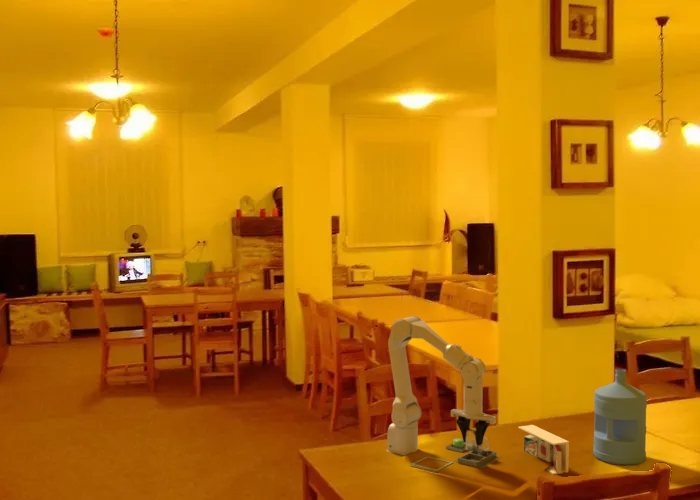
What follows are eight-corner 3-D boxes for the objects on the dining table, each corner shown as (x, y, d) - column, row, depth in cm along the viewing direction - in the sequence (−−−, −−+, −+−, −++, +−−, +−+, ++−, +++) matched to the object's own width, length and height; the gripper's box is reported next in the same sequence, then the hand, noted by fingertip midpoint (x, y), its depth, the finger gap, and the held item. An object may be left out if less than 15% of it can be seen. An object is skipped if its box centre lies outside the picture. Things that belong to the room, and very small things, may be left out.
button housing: (445, 452, 240) (446, 446, 240) (455, 447, 245) (455, 441, 245) (462, 456, 236) (462, 449, 236) (471, 451, 241) (471, 445, 241)
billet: (463, 449, 227) (463, 429, 226) (470, 445, 230) (470, 426, 229) (473, 452, 224) (473, 432, 224) (481, 448, 227) (481, 429, 227)
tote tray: (411, 468, 225) (411, 464, 225) (427, 460, 232) (427, 456, 232) (437, 475, 219) (437, 470, 219) (452, 466, 227) (452, 462, 227)
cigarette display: (517, 455, 237) (518, 426, 237) (532, 453, 239) (532, 424, 239) (555, 476, 219) (556, 444, 218) (571, 473, 221) (571, 442, 220)
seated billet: (473, 457, 232) (473, 438, 231) (479, 453, 235) (479, 435, 235) (484, 459, 229) (484, 440, 229) (490, 456, 232) (490, 437, 232)
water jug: (607, 446, 246) (608, 362, 244) (654, 457, 235) (655, 369, 233) (584, 457, 235) (585, 370, 233) (632, 469, 224) (633, 378, 222)
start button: (451, 449, 240) (451, 440, 240) (456, 446, 243) (456, 437, 243) (460, 451, 238) (460, 442, 238) (466, 448, 241) (466, 439, 241)
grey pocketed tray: (452, 465, 228) (453, 457, 228) (472, 454, 238) (472, 446, 238) (482, 472, 222) (482, 463, 222) (501, 461, 232) (501, 452, 232)
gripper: (500, 400, 225) (500, 444, 226) (458, 393, 234) (458, 435, 235) (489, 405, 219) (489, 450, 220) (447, 397, 228) (447, 441, 229)
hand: (472, 443), depth 227 cm, fingers closed on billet, 4 cm apart
